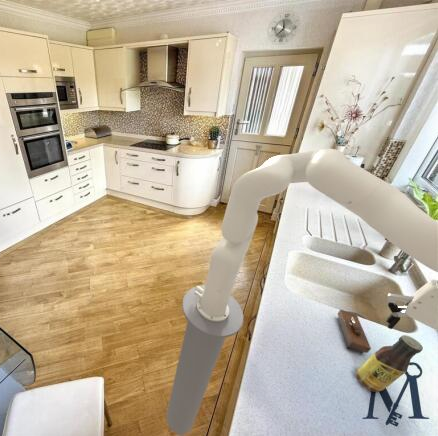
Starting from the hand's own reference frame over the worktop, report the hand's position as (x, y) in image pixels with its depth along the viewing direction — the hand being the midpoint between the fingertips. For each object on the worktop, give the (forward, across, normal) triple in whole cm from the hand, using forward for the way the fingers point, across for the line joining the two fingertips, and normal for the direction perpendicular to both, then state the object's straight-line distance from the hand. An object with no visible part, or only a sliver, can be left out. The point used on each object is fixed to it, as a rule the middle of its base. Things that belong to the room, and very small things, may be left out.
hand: (415, 338), depth 58 cm
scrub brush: (+21, +8, -14) cm, 27 cm away
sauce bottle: (+22, 0, 0) cm, 22 cm away
